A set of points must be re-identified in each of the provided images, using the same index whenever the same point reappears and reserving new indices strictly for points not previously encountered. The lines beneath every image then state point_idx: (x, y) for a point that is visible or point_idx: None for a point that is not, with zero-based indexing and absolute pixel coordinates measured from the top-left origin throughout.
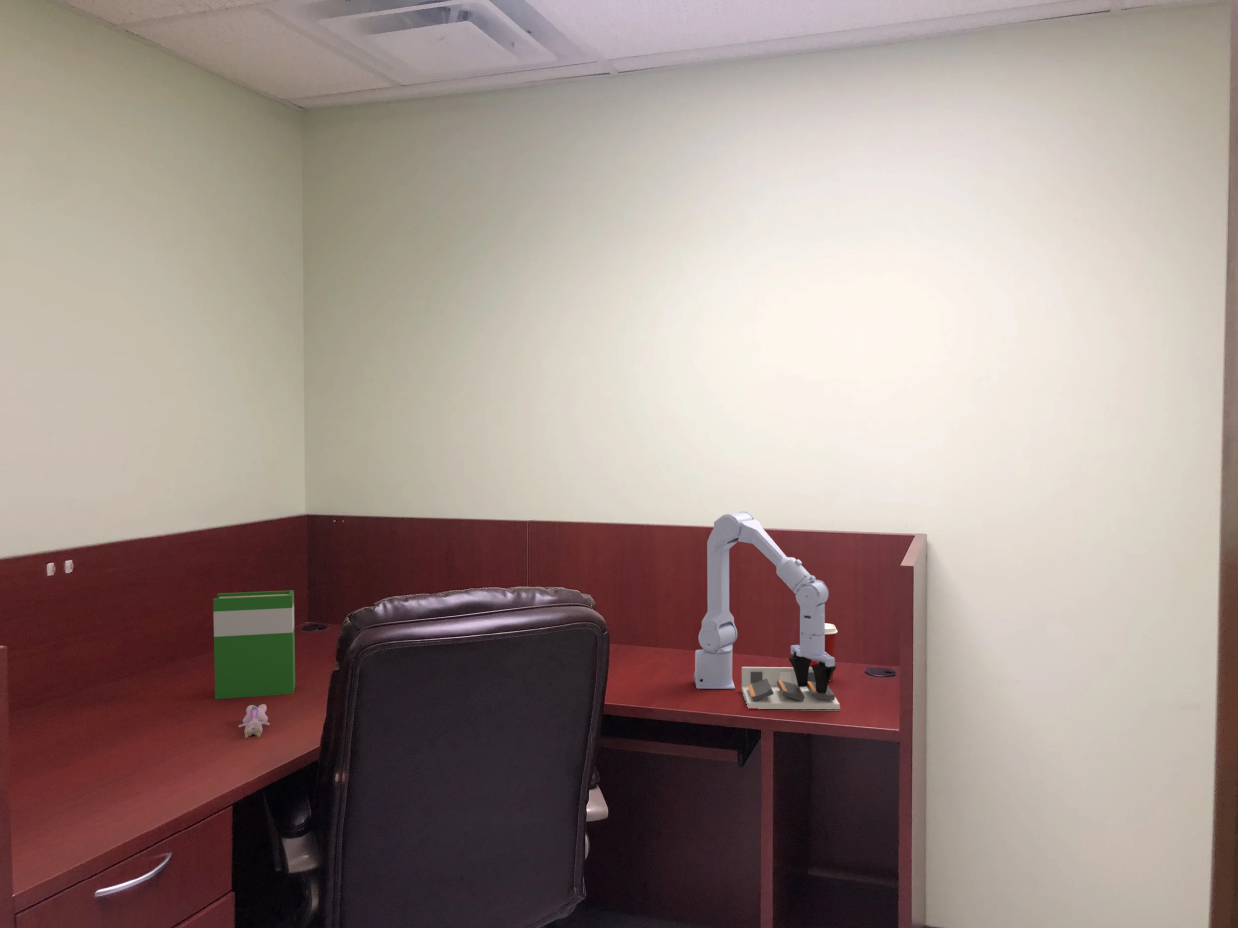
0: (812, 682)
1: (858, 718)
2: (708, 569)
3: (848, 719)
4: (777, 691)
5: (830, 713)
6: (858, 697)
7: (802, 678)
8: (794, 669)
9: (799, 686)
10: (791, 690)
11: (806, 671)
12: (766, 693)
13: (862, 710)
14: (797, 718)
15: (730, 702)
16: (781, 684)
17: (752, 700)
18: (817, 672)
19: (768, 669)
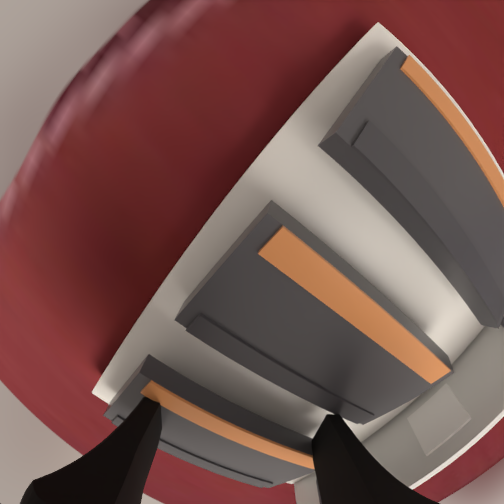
0: (305, 468)
1: (18, 343)
2: None
3: (14, 311)
4: (417, 325)
5: (82, 322)
6: (198, 483)
7: (330, 459)
8: (385, 477)
9: (329, 415)
10: (292, 325)
11: (327, 500)
12: (354, 100)
13: (82, 414)
14: (91, 135)
15: (477, 80)
16: (395, 333)
17: None
18: (58, 477)
19: None
